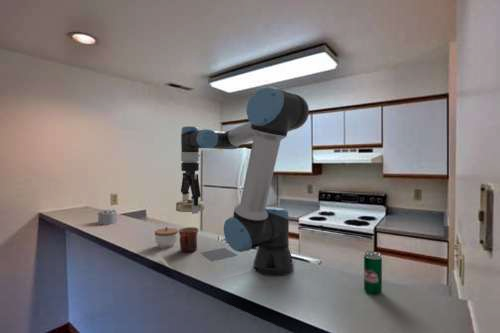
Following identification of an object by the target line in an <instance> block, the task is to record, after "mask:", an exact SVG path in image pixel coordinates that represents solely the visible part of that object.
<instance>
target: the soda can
mask: <svg viewBox="0 0 500 333" xmlns="http://www.w3.org/2000/svg"><path fill="white" fill-rule="evenodd" d="M364 253H365V254H364V255H363V289H364V291H365V293H366V294H368V295H372V296H379V295H381V294H382V292H383V257H382V255H381V253H380V252H377V251H370V250H369V251H368V250H367V251H365V252H364Z"/></svg>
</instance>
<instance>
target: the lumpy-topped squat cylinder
mask: <svg viewBox="0 0 500 333" xmlns="http://www.w3.org/2000/svg"><path fill="white" fill-rule="evenodd" d="M97 216H98V218H97V220H98V221H97V223H99V225H100V224H103V225H102V226H110V225H109V224H113V225H115V223H116V224H117V223H118V217H117V216H118V212H117V211H116V209H103V210H100V211H99V212H98V213H97Z"/></svg>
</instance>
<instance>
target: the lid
mask: <svg viewBox="0 0 500 333" xmlns="http://www.w3.org/2000/svg"><path fill="white" fill-rule="evenodd" d="M203 210H205V202H204V201H202V200H198V212H200V211H203ZM175 211H177V212H181V213H192V199H189V200H187V201H183V200H182V201H178V202H176V203H175Z"/></svg>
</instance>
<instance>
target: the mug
mask: <svg viewBox="0 0 500 333" xmlns="http://www.w3.org/2000/svg"><path fill="white" fill-rule="evenodd" d="M198 232H199V228H198V227H193V226H192V227H190V226H189V227H183V228H182V227H181V228H180V229H178V235H179V246H180V248H179V249H180V252H182V253H183V254H188V253H189V254H190V253H194V252H197V250H198Z"/></svg>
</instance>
